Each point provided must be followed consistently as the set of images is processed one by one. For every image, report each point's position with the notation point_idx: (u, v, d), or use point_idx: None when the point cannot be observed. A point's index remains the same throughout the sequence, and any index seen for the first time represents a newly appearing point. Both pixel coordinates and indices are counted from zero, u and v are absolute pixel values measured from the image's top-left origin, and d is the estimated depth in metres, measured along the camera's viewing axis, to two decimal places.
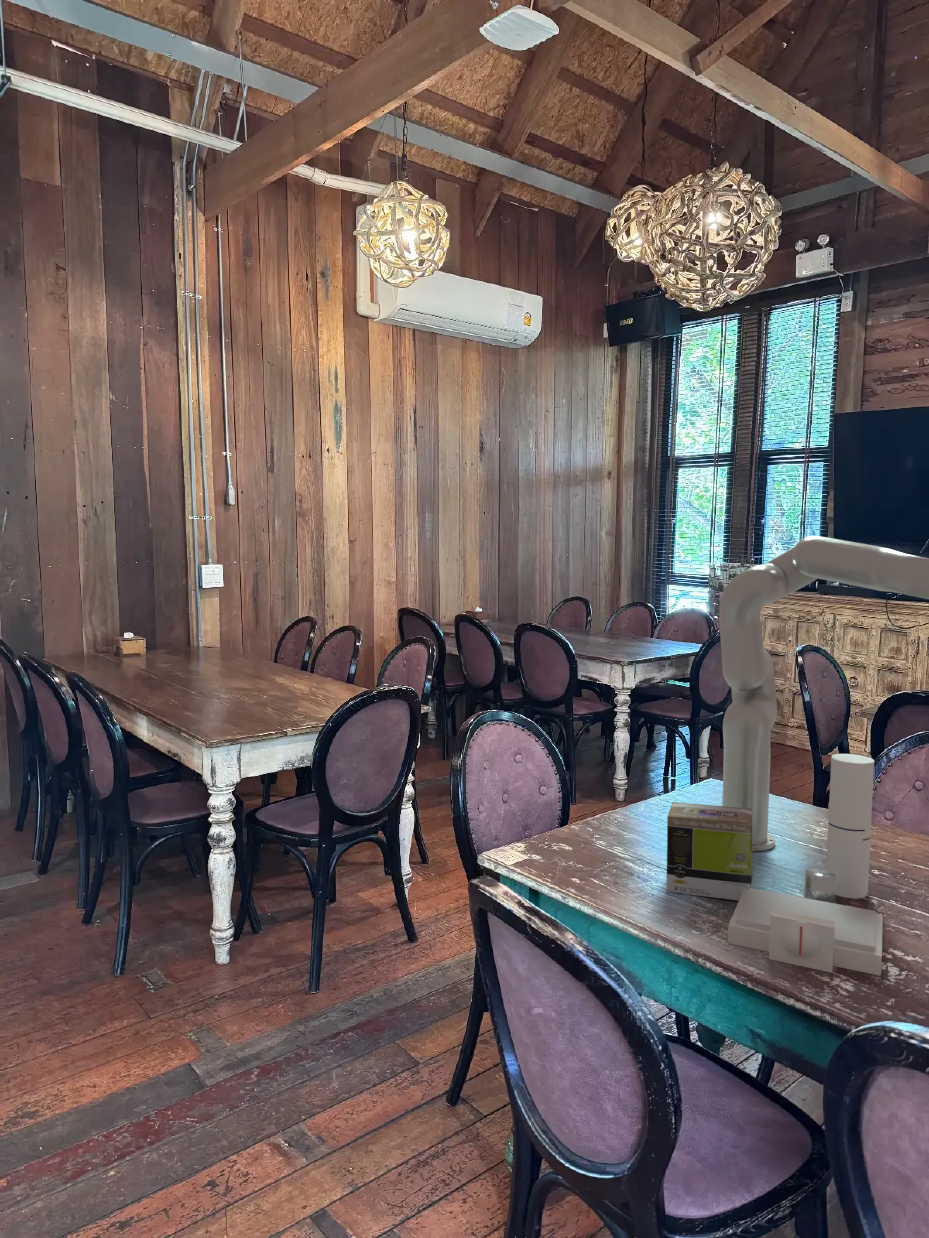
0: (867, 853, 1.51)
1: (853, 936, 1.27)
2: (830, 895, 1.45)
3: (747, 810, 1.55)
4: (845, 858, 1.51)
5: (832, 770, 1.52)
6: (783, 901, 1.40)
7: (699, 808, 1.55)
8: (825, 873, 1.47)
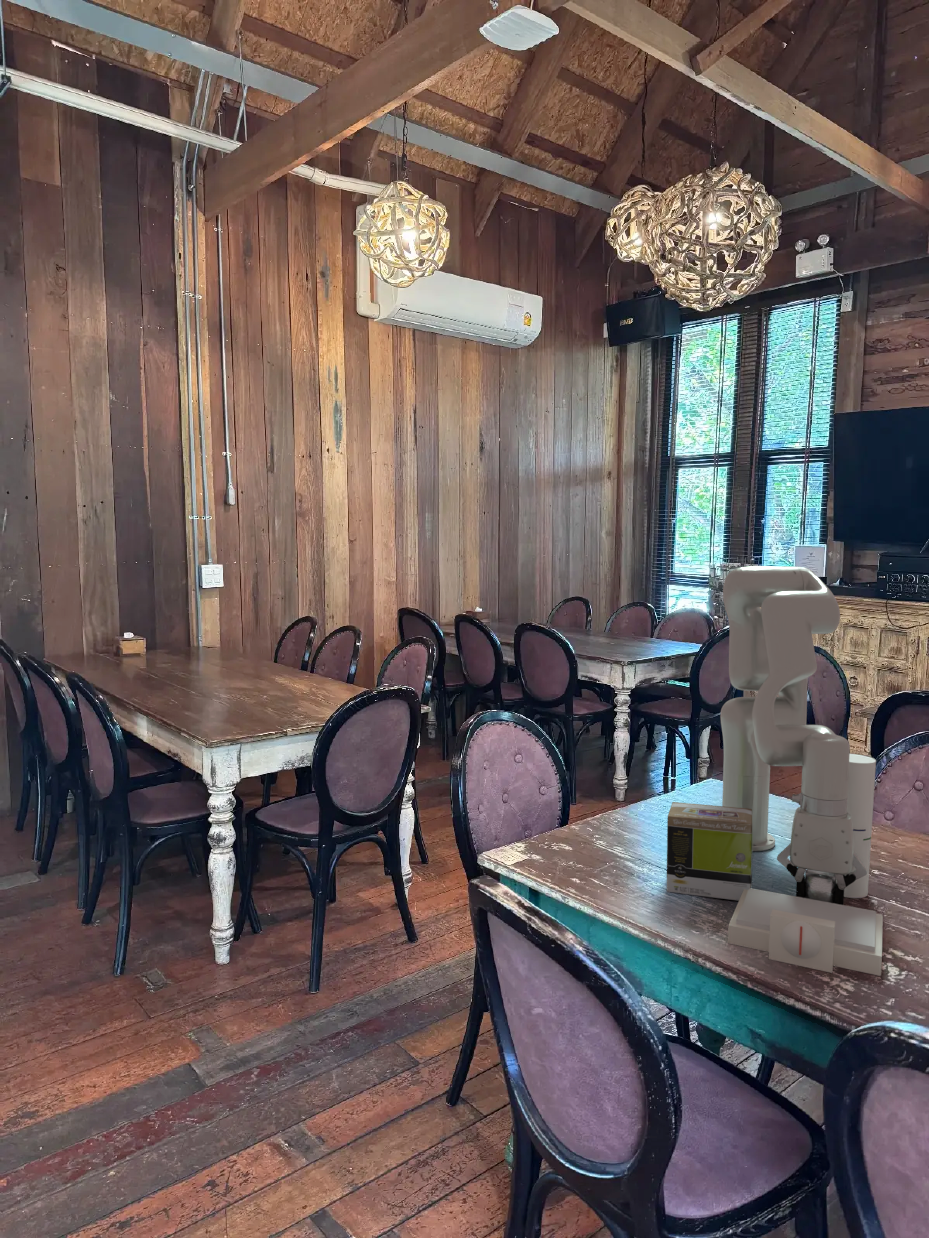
0: (868, 853, 1.51)
1: (853, 936, 1.27)
2: (830, 895, 1.45)
3: (747, 810, 1.55)
4: None
5: None
6: (783, 901, 1.40)
7: (699, 808, 1.55)
8: (825, 873, 1.47)
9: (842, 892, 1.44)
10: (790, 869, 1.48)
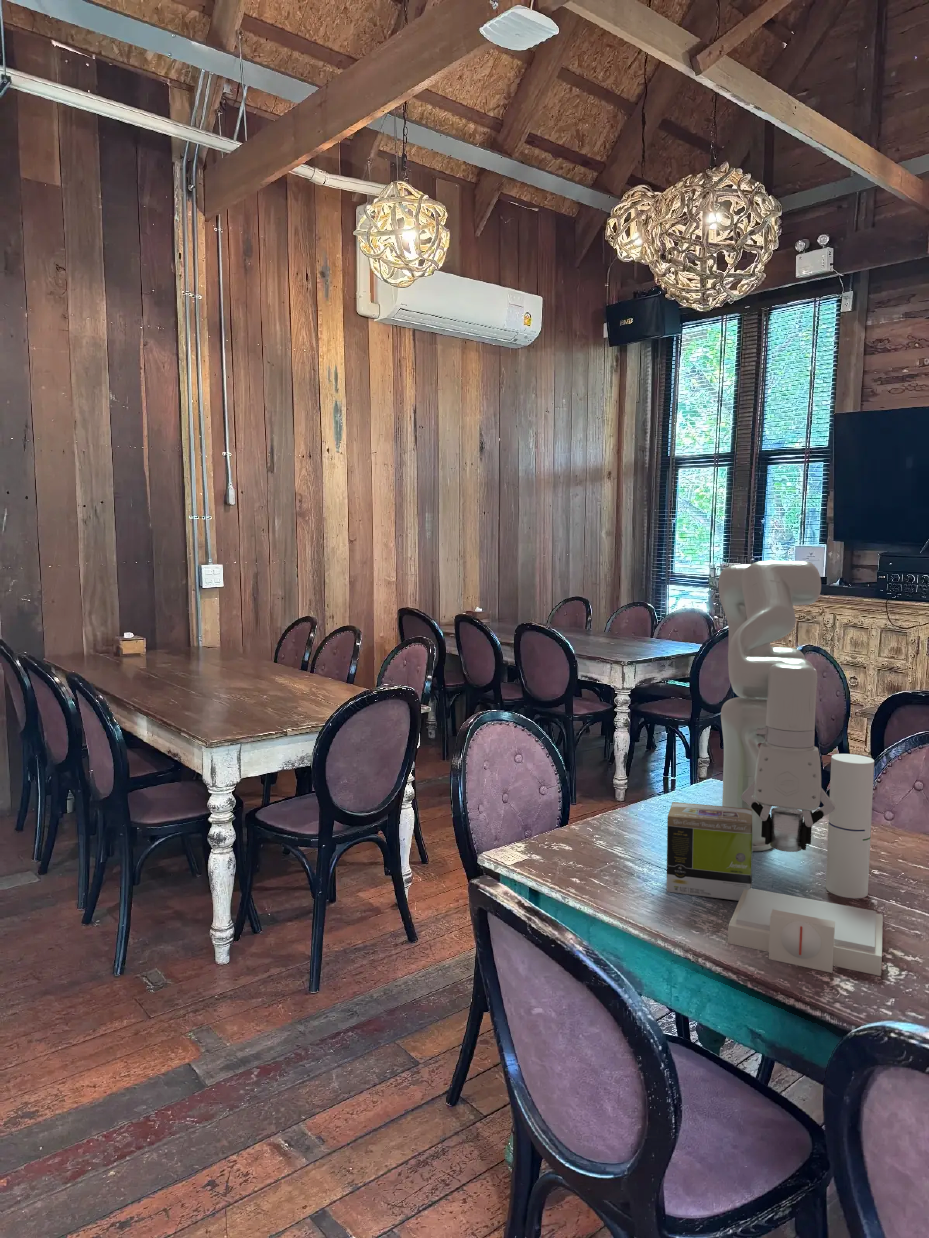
0: (867, 853, 1.51)
1: (853, 936, 1.27)
2: (797, 833, 1.36)
3: (747, 810, 1.55)
4: (845, 858, 1.51)
5: (832, 770, 1.52)
6: (783, 901, 1.40)
7: (699, 808, 1.55)
8: (792, 811, 1.39)
9: (809, 830, 1.36)
10: (755, 808, 1.40)
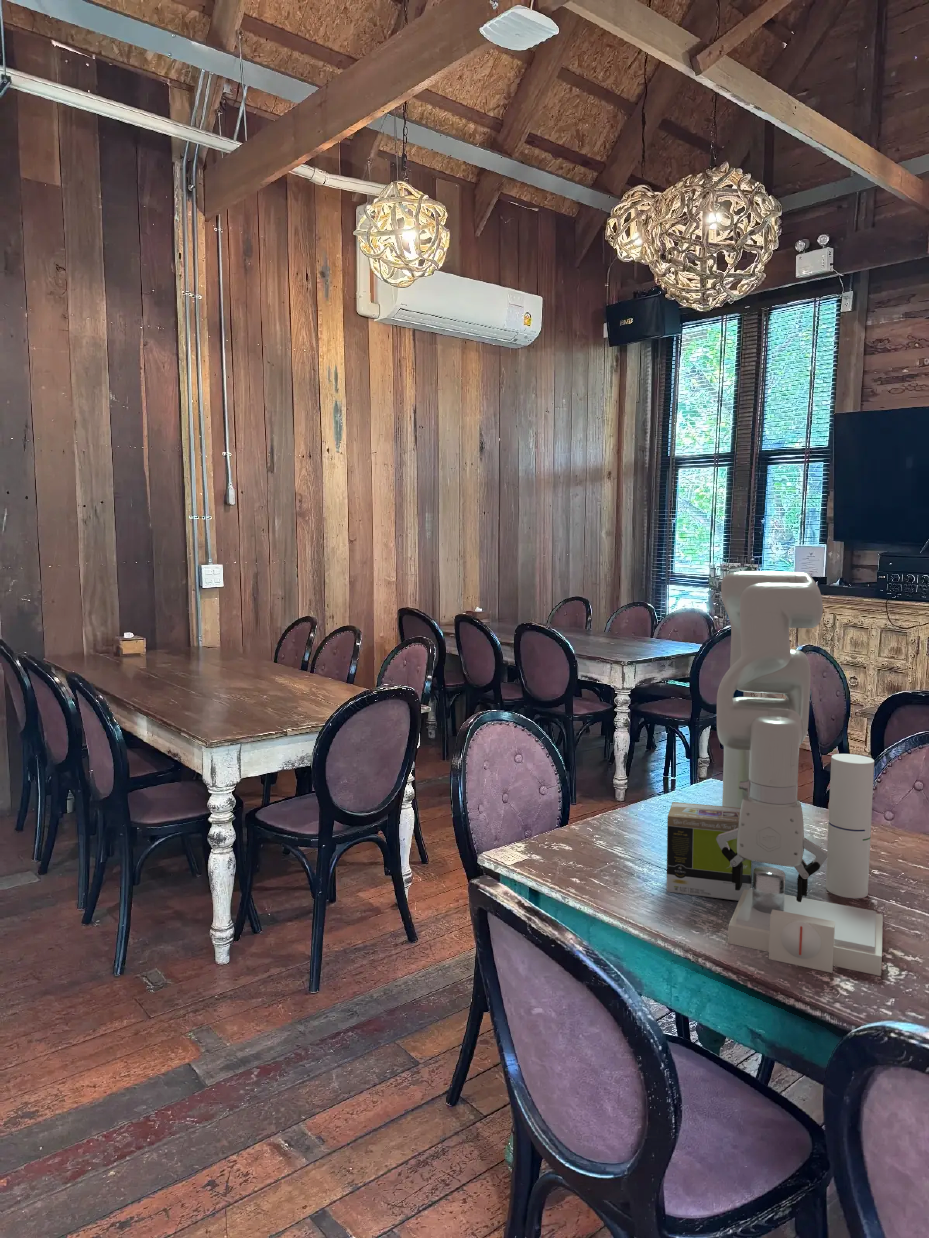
0: (867, 853, 1.51)
1: (853, 936, 1.27)
2: (778, 895, 1.35)
3: None
4: (845, 858, 1.51)
5: (832, 770, 1.52)
6: None
7: (699, 808, 1.55)
8: (774, 871, 1.37)
9: (805, 882, 1.34)
10: (725, 853, 1.39)
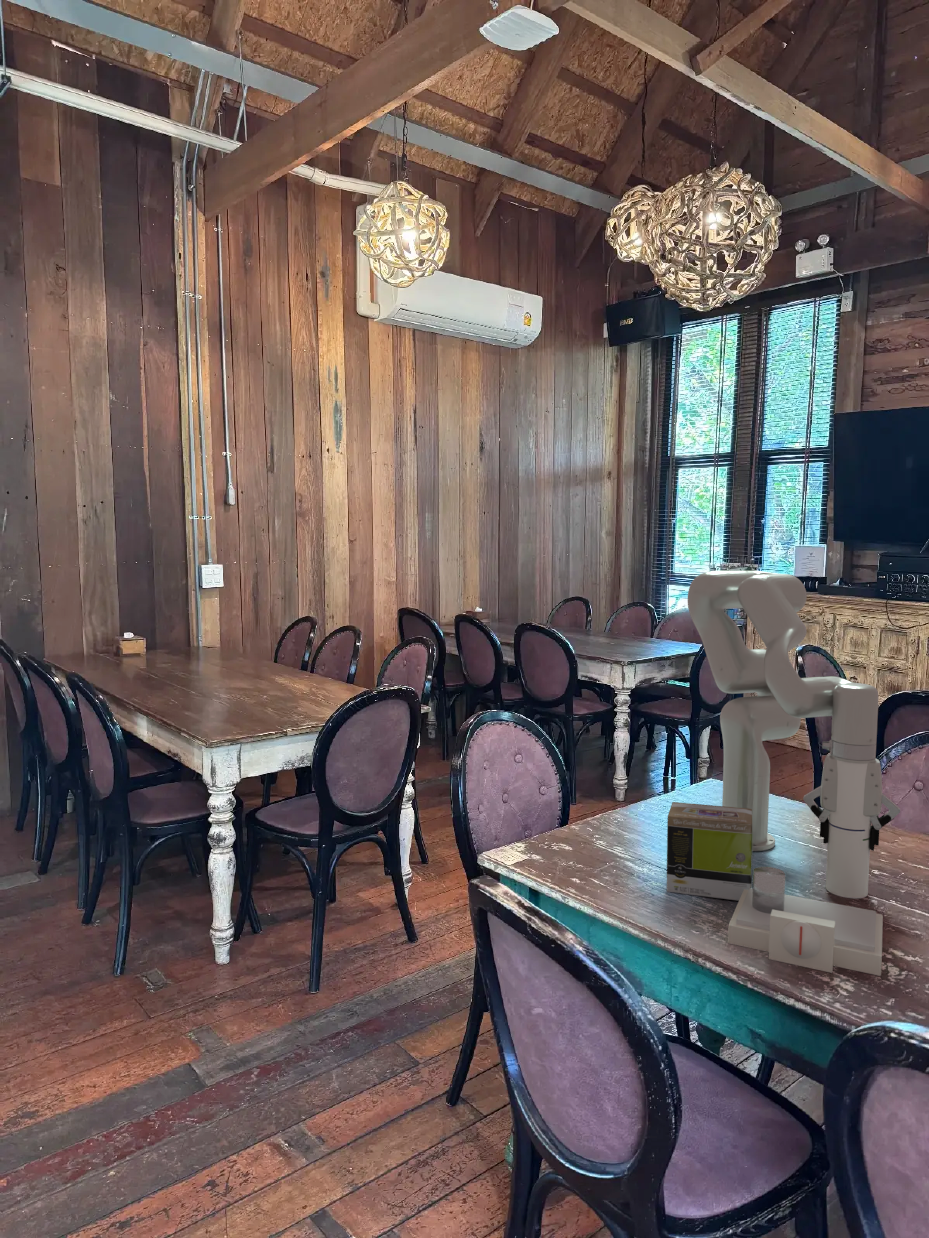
0: (867, 853, 1.51)
1: (853, 936, 1.27)
2: (778, 895, 1.35)
3: (747, 810, 1.55)
4: (845, 858, 1.51)
5: None
6: None
7: (699, 808, 1.55)
8: (774, 871, 1.37)
9: (878, 832, 1.50)
10: (814, 810, 1.55)
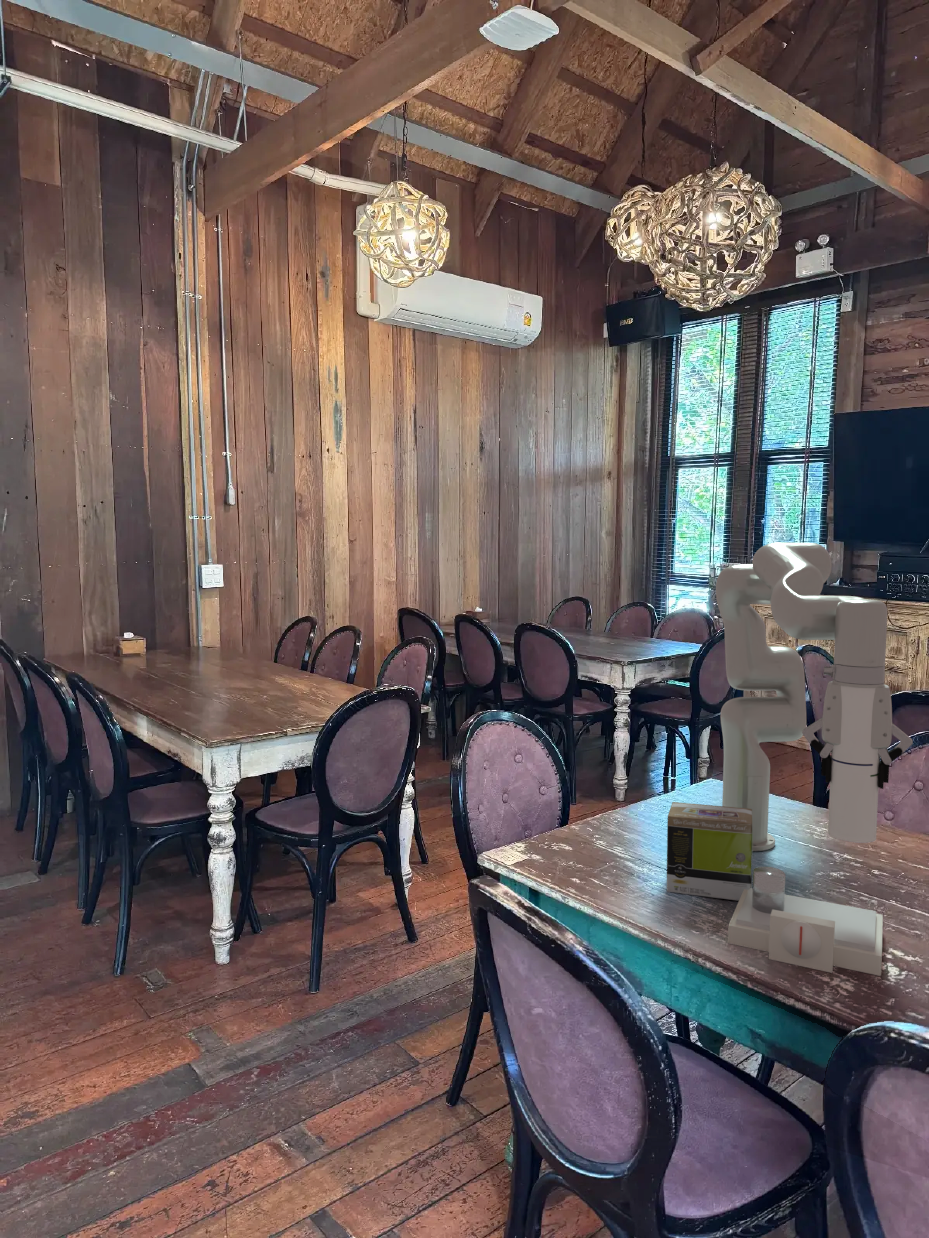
0: (875, 791, 1.32)
1: (853, 936, 1.27)
2: (778, 895, 1.35)
3: (747, 810, 1.55)
4: (851, 797, 1.32)
5: None
6: None
7: (699, 808, 1.55)
8: (774, 871, 1.37)
9: (887, 768, 1.32)
10: (815, 745, 1.36)
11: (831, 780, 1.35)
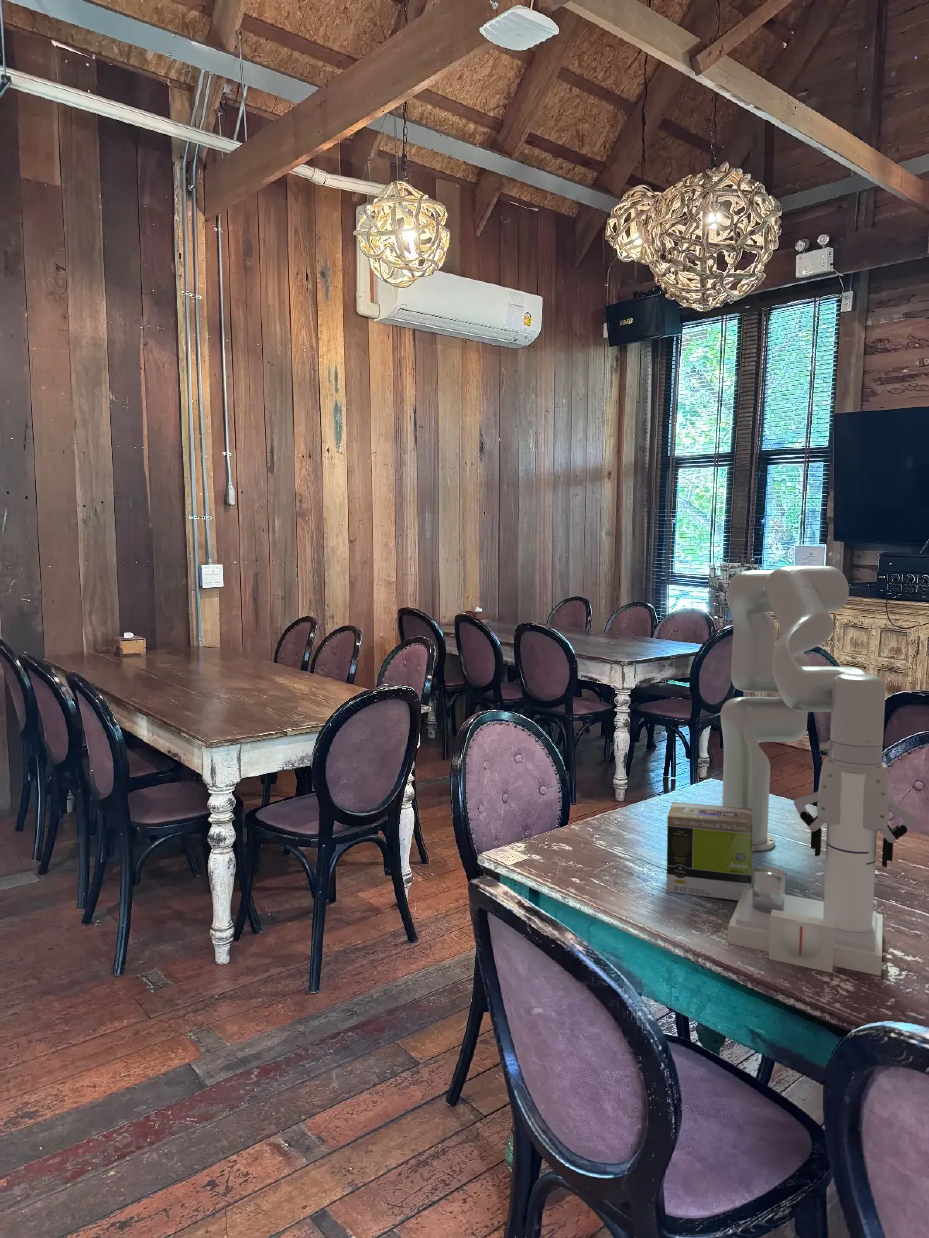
0: (871, 879, 1.29)
1: (853, 936, 1.27)
2: (778, 895, 1.35)
3: (747, 810, 1.55)
4: (846, 885, 1.29)
5: None
6: None
7: (699, 808, 1.55)
8: (774, 871, 1.37)
9: (891, 846, 1.28)
10: (804, 817, 1.33)
11: (826, 865, 1.32)
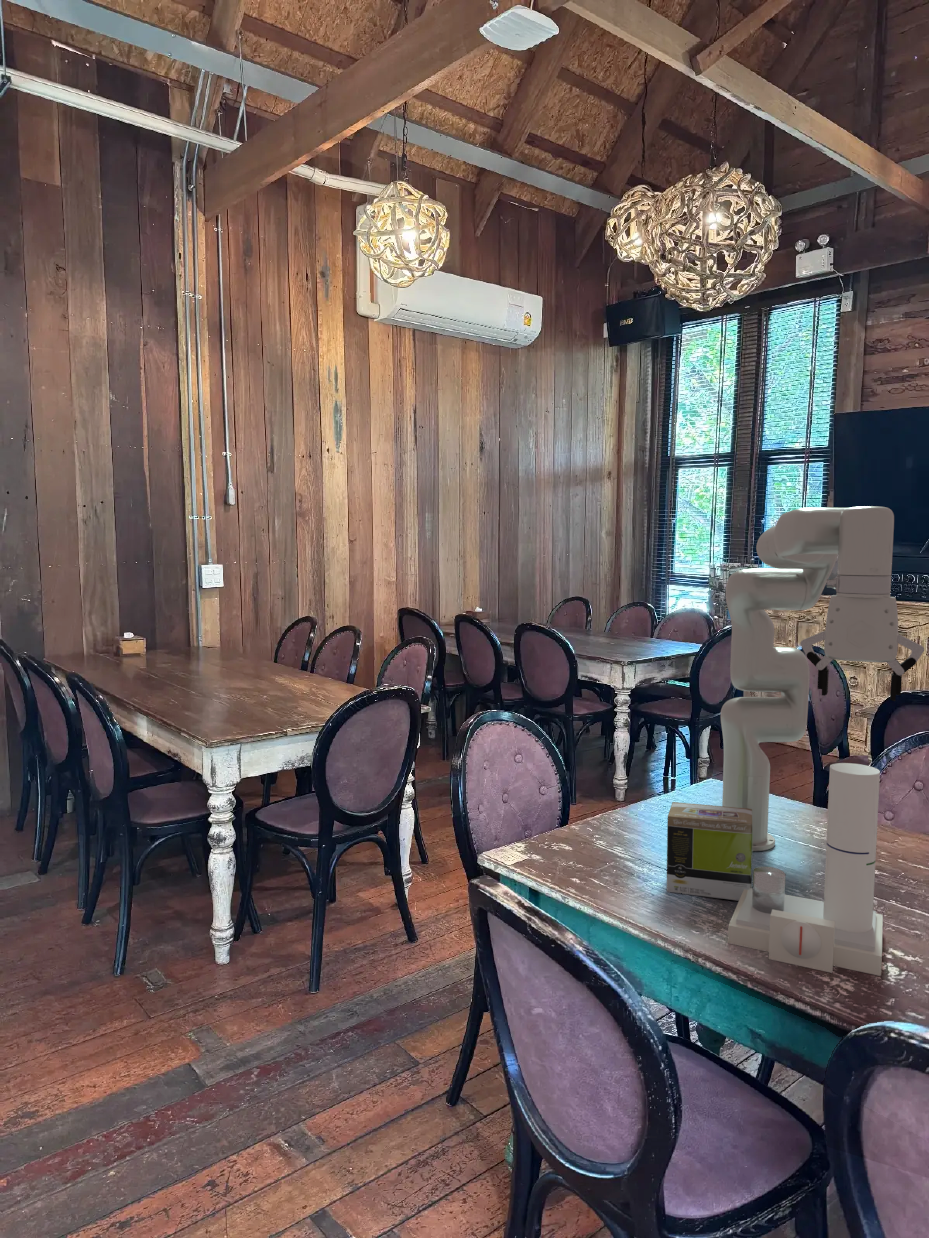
0: (872, 880, 1.29)
1: (853, 936, 1.27)
2: (778, 895, 1.35)
3: (747, 810, 1.55)
4: (846, 886, 1.29)
5: (831, 782, 1.31)
6: None
7: (699, 808, 1.55)
8: (774, 871, 1.37)
9: (900, 679, 1.26)
10: (811, 657, 1.31)
11: (826, 866, 1.32)
